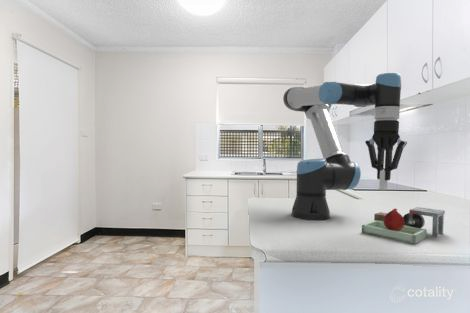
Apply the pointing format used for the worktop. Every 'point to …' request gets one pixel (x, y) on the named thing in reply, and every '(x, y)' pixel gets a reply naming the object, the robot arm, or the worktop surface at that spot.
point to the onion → (394, 220)
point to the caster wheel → (417, 220)
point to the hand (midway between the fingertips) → (383, 189)
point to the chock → (379, 216)
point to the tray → (395, 232)
